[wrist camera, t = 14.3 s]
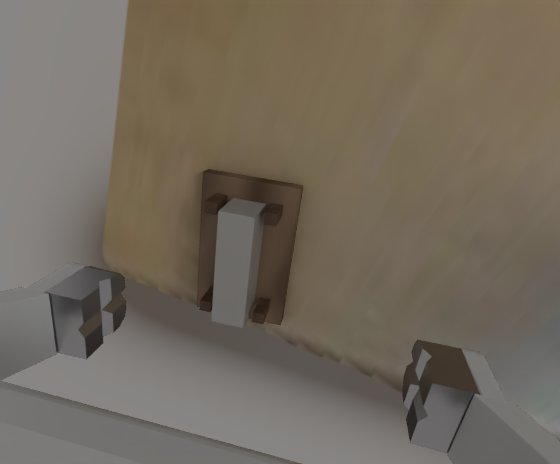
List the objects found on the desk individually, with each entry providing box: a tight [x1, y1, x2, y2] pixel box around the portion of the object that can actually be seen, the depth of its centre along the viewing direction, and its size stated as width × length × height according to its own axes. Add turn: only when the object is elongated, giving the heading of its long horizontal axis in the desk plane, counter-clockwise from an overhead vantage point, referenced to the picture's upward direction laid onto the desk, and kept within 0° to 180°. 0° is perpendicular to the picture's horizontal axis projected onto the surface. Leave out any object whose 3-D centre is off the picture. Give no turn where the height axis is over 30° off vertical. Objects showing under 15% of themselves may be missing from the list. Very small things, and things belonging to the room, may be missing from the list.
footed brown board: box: [197, 169, 303, 325], centre depth 38 cm, size 10×16×4 cm, turn 173°
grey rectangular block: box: [211, 198, 266, 328], centre depth 36 cm, size 3×12×4 cm, turn 173°
